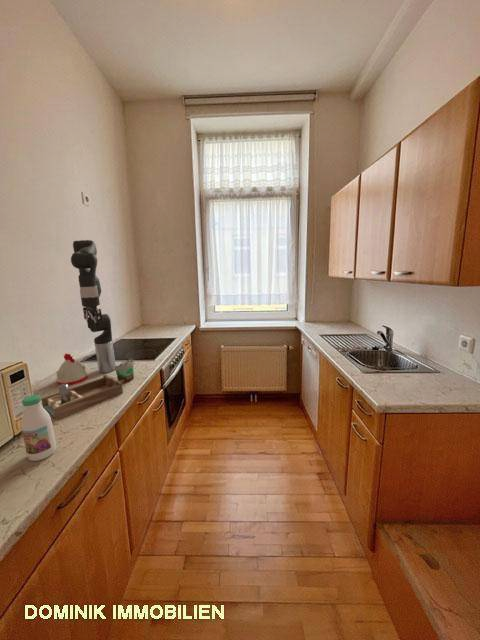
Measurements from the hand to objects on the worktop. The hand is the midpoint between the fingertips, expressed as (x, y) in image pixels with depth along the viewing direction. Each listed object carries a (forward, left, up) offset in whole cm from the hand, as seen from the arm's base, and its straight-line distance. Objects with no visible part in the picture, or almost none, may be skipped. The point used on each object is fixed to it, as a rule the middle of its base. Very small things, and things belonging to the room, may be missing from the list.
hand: (94, 329), depth 130 cm
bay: (+8, -12, -30) cm, 33 cm away
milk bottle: (+35, -36, -30) cm, 59 cm away
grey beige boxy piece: (+8, -19, -29) cm, 36 cm away
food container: (+4, +12, -30) cm, 33 cm away
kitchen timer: (-22, -6, -30) cm, 38 cm away
